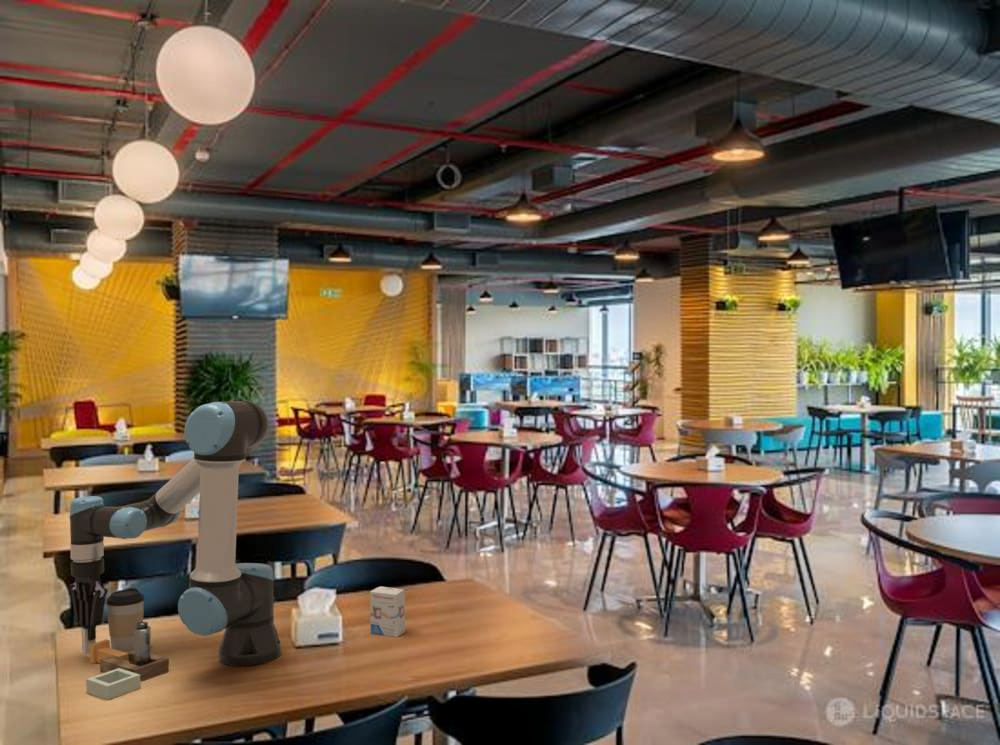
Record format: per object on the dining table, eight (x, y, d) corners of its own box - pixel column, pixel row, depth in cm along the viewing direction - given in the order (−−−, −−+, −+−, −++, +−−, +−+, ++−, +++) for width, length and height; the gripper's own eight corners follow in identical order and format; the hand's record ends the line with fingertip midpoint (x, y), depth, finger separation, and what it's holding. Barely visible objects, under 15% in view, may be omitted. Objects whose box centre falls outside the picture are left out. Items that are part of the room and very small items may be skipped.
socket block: (168, 671, 201) (168, 658, 201) (134, 683, 194) (134, 670, 194) (134, 660, 208) (134, 648, 208) (100, 672, 201) (100, 659, 201)
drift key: (131, 664, 205) (131, 646, 205) (115, 670, 201) (115, 652, 201) (106, 656, 211) (106, 639, 211) (90, 662, 207) (89, 644, 207)
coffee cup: (130, 656, 212) (129, 597, 211) (98, 654, 213) (98, 595, 213) (152, 644, 221) (151, 587, 220) (121, 642, 222) (121, 585, 222)
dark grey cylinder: (154, 673, 200) (153, 622, 200) (140, 678, 197) (140, 626, 197) (144, 670, 202) (144, 619, 202) (131, 675, 199) (130, 623, 199)
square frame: (140, 687, 191) (140, 674, 191) (107, 699, 184) (107, 686, 184) (119, 680, 195) (119, 668, 195) (86, 692, 188) (86, 679, 188)
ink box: (369, 633, 228) (368, 590, 228) (378, 628, 233) (378, 585, 233) (396, 637, 225) (396, 593, 225) (405, 631, 230) (405, 588, 229)
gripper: (116, 558, 210) (118, 652, 211) (86, 553, 217) (88, 643, 218) (88, 565, 204) (89, 661, 204) (58, 558, 211) (59, 652, 211)
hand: (88, 652), depth 211 cm, fingers closed
